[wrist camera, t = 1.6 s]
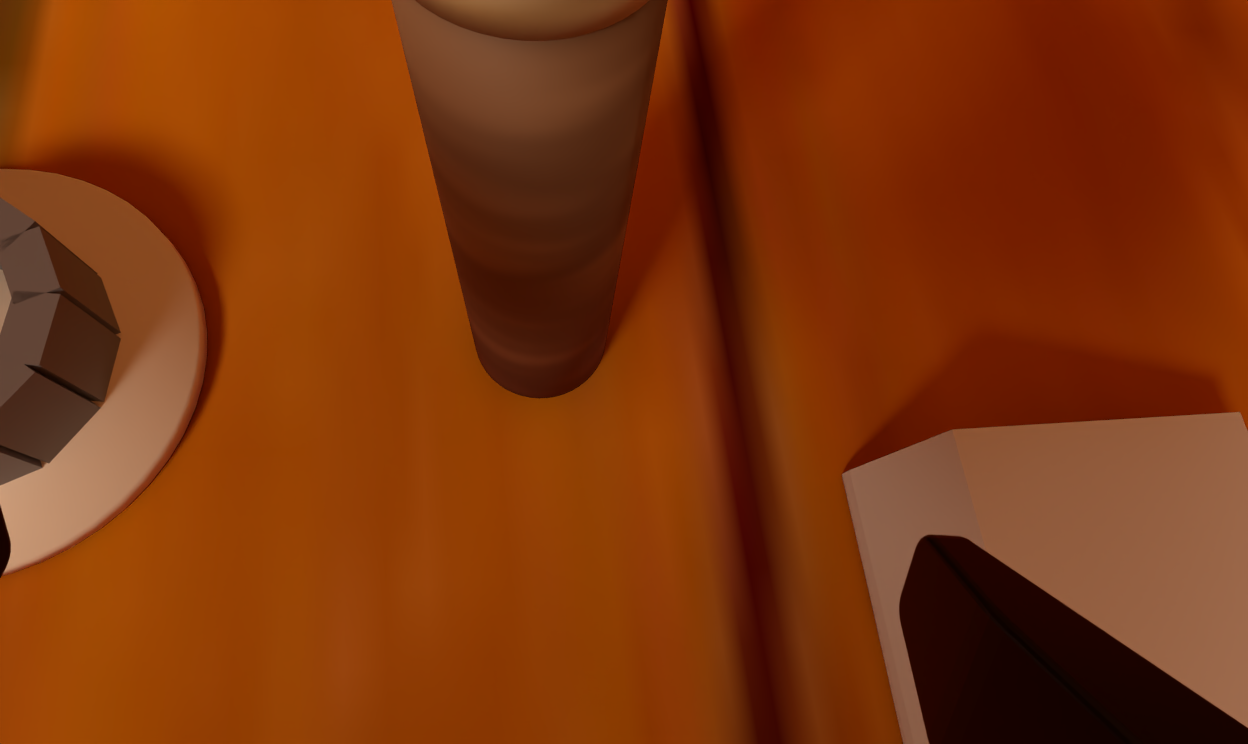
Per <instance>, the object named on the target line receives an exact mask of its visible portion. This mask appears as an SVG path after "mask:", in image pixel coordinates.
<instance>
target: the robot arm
mask: <svg viewBox="0 0 1248 744" xmlns="http://www.w3.org/2000/svg"><path fill="white" fill-rule="evenodd" d="M10 553H11V541H10V537H9V533H8V530H7V526H6V523H5V519H4V516H3V513H2V509H1V506H0V578H1V576H2V574H3V573H4V571H5V569H6V567H7V564H8V561H9V559H10ZM899 617H900V623H901V627H902V632H903V636H904V640H905V644H906V649H907V653H908V657H909V661H910V666H911V670H912V674H913V678H914V683H915V687H916V691H917V695H918V700H919V704H920V708H921V712H922V717H923V721H924V725H925V729H926V734H927V738H928V742H929V744H1248V728H1247V727H1246V726H1245V725H1243V724H1242V723H1240V722H1239V721H1237V720H1236V719H1234V718H1233V717H1231V716H1230V715H1228V714H1227V713H1225V712H1224V711H1222V710H1221V709H1219V708H1218V707H1216V706H1215V705H1213V704H1212V703H1210V702H1209V701H1207V700H1206V699H1204V698H1203V697H1201V696H1200V695H1199V694H1197V693H1196V692H1194V691H1193V690H1191V689H1190V688H1188V687H1187V686H1185V685H1184V684H1182V683H1181V682H1179V681H1178V680H1176V679H1175V678H1173V677H1172V676H1170V675H1169V674H1167V673H1166V672H1164V671H1163V670H1161V669H1160V668H1158V667H1157V666H1155V665H1154V664H1152V663H1151V662H1150V661H1148V660H1147V659H1145V658H1144V657H1142V656H1141V655H1139V654H1138V653H1136V652H1135V651H1133V650H1132V649H1130V648H1129V647H1127V646H1126V645H1124V644H1123V643H1121V642H1120V641H1118V640H1117V639H1115V638H1114V637H1112V636H1111V635H1109V634H1108V633H1106V632H1105V631H1104V630H1102V629H1101V628H1099V627H1098V626H1096V625H1095V624H1093V623H1092V622H1090V621H1089V620H1087V619H1086V618H1084V617H1083V616H1081V615H1080V614H1078V613H1077V612H1075V611H1074V610H1072V609H1071V608H1069V607H1068V606H1066V605H1065V604H1063V603H1062V602H1060V601H1059V600H1058V599H1056V598H1055V597H1053V596H1052V595H1050V594H1049V593H1047V592H1046V591H1044V590H1043V589H1041V588H1040V587H1038V586H1037V585H1035V584H1034V583H1032V582H1031V581H1029V580H1028V579H1026V578H1025V577H1023V576H1022V575H1020V574H1019V573H1017V572H1016V571H1015V570H1013V569H1012V568H1010V567H1009V566H1007V565H1006V564H1004V563H1003V562H1001V561H1000V560H998V559H997V558H995V557H994V556H992V555H991V554H989V553H988V552H986V551H985V550H983V549H982V548H980V547H979V546H977V545H976V544H975V543H973V542H972V541H970V540H968V539H967V538H964V537H961V536H949V535H933V534H928V535H926V536H924V537H922V538H921V539H920V540H919V542H918V543H917V546H916V548H915V551H914V554H913V557H912V561H911V564H910V567H909V570H908V573H907V577H906V580H905V583H904V586H903V589H902V592H901V596H900V602H899Z"/></svg>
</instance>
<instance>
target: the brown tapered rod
mask: <svg viewBox="0 0 1248 744" xmlns="http://www.w3.org/2000/svg"><path fill="white" fill-rule="evenodd" d="M392 4H393V8H394V12H395V16H396V20H397V24H398V28H399V33H400V37H401V41H402V45H403V49H404V53H405V57H406V62H407V66H408V70H409V74H410V78H411V82H412V86H413V90H414V95H415V99H416V103H417V107H418V111H419V115H420V119H421V123H422V128H423V132H424V136H425V140H426V144H427V148H428V152H429V157H430V161H431V165H432V169H433V173H434V177H435V181H436V185H437V190H438V194H439V198H440V202H441V206H442V210H443V214H444V218H445V223H446V227H447V231H448V235H449V239H450V243H451V247H452V252H453V256H454V260H455V264H456V268H457V272H458V276H459V280H460V285H461V289H462V293H463V297H464V301H465V305H466V309H467V313H468V318H469V322H470V326H471V330H472V334H473V338H474V342H475V346H476V351H477V354H478V357H479V359H480V362H481V364H482V366H483V367H484V369H485V370H486V372H487V373H488V374H489V375H490V377H491V378H492V379H493V380H494V381H496V382H497V383H498V384H499V385H501V386H502V387H504V388H505V389H507V390H509V391H511V392H513V393H515V394H518V395H521V396H526V397H531V398H549V397H555V396H559V395H562V394H565V393H567V392H570V391H572V390H574V389H575V388H577V387H579V386H580V385H581V384H583V383H584V382H585V381H586V380H587V379H588V378H589V377H590V376H591V375H592V374H593V372H594V371H595V370H596V368H597V366H598V365H599V363H600V361H601V358H602V355H603V352H604V348H605V342H606V337H607V331H608V326H609V320H610V315H611V309H612V304H613V298H614V293H615V287H616V282H617V276H618V271H619V265H620V260H621V254H622V249H623V243H624V238H625V232H626V227H627V221H628V216H629V210H630V205H631V199H632V193H633V188H634V182H635V177H636V171H637V166H638V160H639V155H640V149H641V144H642V138H643V133H644V127H645V122H646V116H647V111H648V105H649V100H650V94H651V89H652V83H653V78H654V72H655V67H656V61H657V56H658V50H659V45H660V39H661V33H662V28H663V22H664V17H665V11H666V6H667V0H392Z"/></svg>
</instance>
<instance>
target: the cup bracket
mask: <svg viewBox="0 0 1248 744" xmlns="http://www.w3.org/2000/svg"><path fill="white" fill-rule="evenodd" d="M206 361H207V326H206V319H205V312H204V306H203V303H202V300H201V297H200V293H199V290H198V287H197V284H196V282H195V280H194V278H193V276H192V274H191V272H190V270H189V268H188V266H187V264H186V262H185V261H184V259H183V258H182V256H181V255H180V254H179V252H178V251H177V249H176V248H175V246H174V245H173V244H172V243H171V242H170V241H169V240H168V239H167V237H166V236H165V235H164V234H163V233H162V232H161V231H160V230H159V229H158V228H157V227H156V226H155V225H154V224H153V223H152V222H151V221H150V220H149V219H148V217H146V216H145V215H144V214H142V213H141V212H140V211H139V210H137V209H136V208H135V207H133V206H132V205H131V204H130V203H128V202H127V201H125V200H123V199H121V198H120V197H118V196H116V195H114V194H112V193H111V192H109V191H107V190H105V189H103V188H100V187H98V186H95V185H93V184H90V183H88V182H85V181H83V180H79V179H75V178H72V177H68V176H64V175H60V174H56V173H49V172H42V171H35V170H20V169H0V506H1V509H2V513H3V516H4V519H5V523H6V526H7V530H8V533H9V537H10V541H11V553H10V559H9V561H8V564H7V567H6V569H5V571H4V573H3V574H2V576H4V575H8V574H12V573H15V572H17V571H20V570H23V569H25V568H28V567H31V566H33V565H36V564H39V563H41V562H44V561H46V560H48V559H50V558H52V557H54V556H56V555H58V554H60V553H62V552H64V551H66V550H67V549H69V548H71V547H73V546H75V545H77V544H78V543H80V542H81V541H83V540H84V539H86V538H87V537H89V536H90V535H92V534H93V533H95V532H97V531H98V530H100V529H101V528H102V527H104V526H105V525H106V524H107V523H109V522H110V521H111V520H112V519H113V518H115V517H116V516H117V515H118V514H120V513H121V512H122V511H123V510H124V509H126V508H127V507H128V506H129V505H130V504H131V503H132V502H133V501H134V500H135V499H136V498H137V497H138V496H139V495H140V494H141V493H142V492H143V491H144V490H145V489H146V488H147V487H148V486H149V484H150V483H151V482H152V481H153V479H154V478H155V477H156V475H157V474H158V473H159V472H160V470H161V469H162V468H163V466H164V465H165V464H166V463H167V461H168V460H169V458H170V457H171V455H172V453H173V452H174V450H175V448H176V447H177V445H178V443H179V442H180V440H181V438H182V437H183V435H184V433H185V431H186V429H187V426H188V424H189V422H190V420H191V417H192V415H193V413H194V411H195V408H196V405H197V402H198V398H199V395H200V392H201V388H202V385H203V380H204V374H205V367H206Z"/></svg>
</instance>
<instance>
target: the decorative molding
mask: <svg viewBox="0 0 1248 744" xmlns="http://www.w3.org/2000/svg"><path fill="white" fill-rule="evenodd" d="M842 478H843V482H844V487H845V491H846V495H847V499H848V504H849V508H850V512H851V517H852V521H853V525H854V530H855V534H856V538H857V543H858V547H859V551H860V555H861V560H862V564H863V568H864V573H865V577H866V581H867V586H868V590H869V594H870V599H871V603H872V608H873V612H874V616H875V621H876V625H877V630H878V634H879V638H880V643H881V647H882V652H883V656H884V661H885V665H886V669H887V674H888V678H889V683H890V687H891V692H892V696H893V700H894V705H895V709H896V714H897V718H898V722H899V727H900V731H901V735H902V740H903V744H929V742H928V738H927V734H926V729H925V725H924V721H923V717H922V712H921V708H920V704H919V700H918V695H917V691H916V687H915V683H914V678H913V674H912V670H911V666H910V661H909V657H908V653H907V649H906V644H905V640H904V636H903V632H902V627H901V623H900V617H899V602H900V596H901V592H902V589H903V586H904V583H905V580H906V577H907V573H908V570H909V567H910V564H911V561H912V557H913V554H914V551H915V548H916V546H917V543H918V542H919V540H920V539H921V538H922V537H924V536H926V535H928V534H933V535H949V536H961V537H964V538H967V539H968V540H970V541H972V542H973V543H975V544H976V545H977V546H979V547H980V548H982V549H983V550H985V551H986V552H988V553H989V554H991V555H992V556H994V557H995V558H997V559H998V560H1000V561H1001V562H1003V563H1004V564H1006V565H1007V566H1009V567H1010V568H1012V569H1013V570H1015V571H1016V572H1017V573H1019V574H1020V575H1022V576H1023V577H1025V578H1026V579H1028V580H1029V581H1031V582H1032V583H1034V584H1035V585H1037V586H1038V587H1040V588H1041V589H1043V590H1044V591H1046V592H1047V593H1049V594H1050V595H1052V596H1053V597H1055V598H1056V599H1058V600H1059V601H1060V602H1062V603H1063V604H1065V605H1066V606H1068V607H1069V608H1071V609H1072V610H1074V611H1075V612H1077V613H1078V614H1080V615H1081V616H1083V617H1084V618H1086V619H1087V620H1089V621H1090V622H1092V623H1093V624H1095V625H1096V626H1098V627H1099V628H1101V629H1102V630H1104V631H1105V632H1106V633H1108V634H1109V635H1111V636H1112V637H1114V638H1115V639H1117V640H1118V641H1120V642H1121V643H1123V644H1124V645H1126V646H1127V647H1129V648H1130V649H1132V650H1133V651H1135V652H1136V653H1138V654H1139V655H1141V656H1142V657H1144V658H1145V659H1147V660H1148V661H1150V662H1151V663H1152V664H1154V665H1155V666H1157V667H1158V668H1160V669H1161V670H1163V671H1164V672H1166V673H1167V674H1169V675H1170V676H1172V677H1173V678H1175V679H1176V680H1178V681H1179V682H1181V683H1182V684H1184V685H1185V686H1187V687H1188V688H1190V689H1191V690H1193V691H1194V692H1196V693H1197V694H1199V695H1200V696H1201V697H1203V698H1204V699H1206V700H1207V701H1209V702H1210V703H1212V704H1213V705H1215V706H1216V707H1218V708H1219V709H1221V710H1222V711H1224V712H1225V713H1227V714H1228V715H1230V716H1231V717H1233V718H1234V719H1236V720H1237V721H1239V722H1240V723H1242V724H1243V725H1245V726H1246V727H1247V728H1248V431H1247V428H1246V426H1245V423H1244V421H1243V418H1242V416H1241V413H1240V412H1231V413H1215V414H1198V415H1182V416H1165V417H1149V418H1133V419H1116V420H1099V421H1083V422H1067V423H1050V424H1034V425H1017V426H1001V427H984V428H968V429H952V430H949V431H947V432H944V433H942V434H939V435H937V436H934V437H932V438H929V439H927V440H924V441H922V442H919V443H917V444H914V445H912V446H909V447H907V448H904V449H902V450H899V451H896V452H894V453H891V454H889V455H886V456H884V457H881V458H879V459H876V460H874V461H871V462H869V463H866V464H864V465H861V466H859V467H856V468H854V469H851V470H849V471H847V472H845V473H843V474H842Z"/></svg>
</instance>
